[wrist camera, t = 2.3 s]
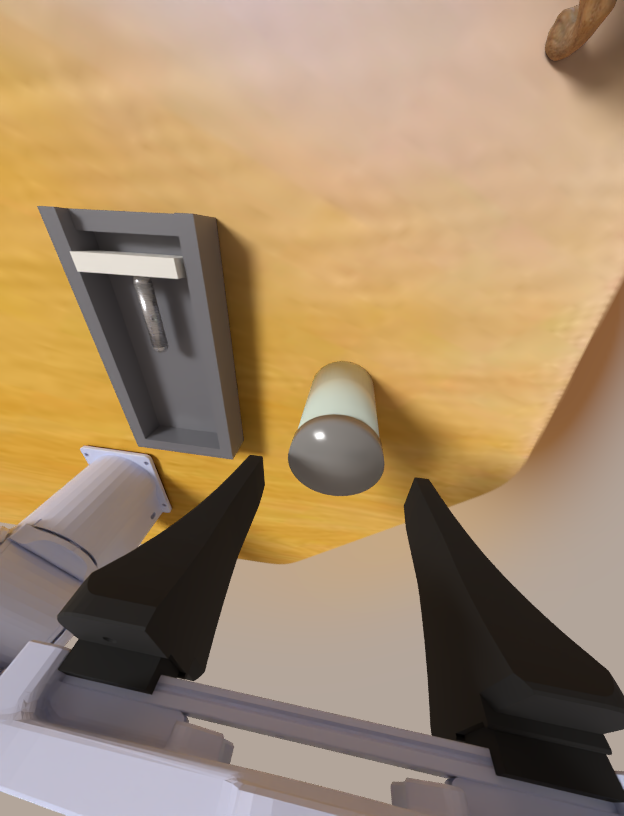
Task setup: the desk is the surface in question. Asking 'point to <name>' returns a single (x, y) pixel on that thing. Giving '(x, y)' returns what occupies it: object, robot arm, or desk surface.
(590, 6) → the lion figurine
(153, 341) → the pusher
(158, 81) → the desk surface
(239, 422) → the pusher lane
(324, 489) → the jar
